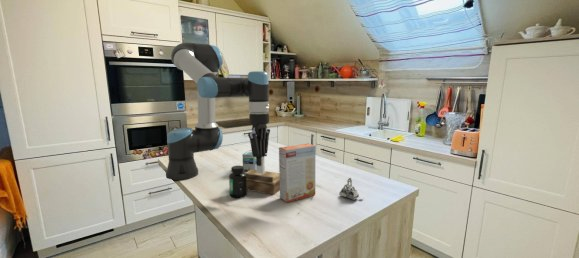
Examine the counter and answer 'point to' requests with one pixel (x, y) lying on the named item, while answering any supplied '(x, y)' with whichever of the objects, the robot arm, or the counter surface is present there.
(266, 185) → the brown wooden drawer
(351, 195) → the grey lumpy piece
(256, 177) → the lid
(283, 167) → the cracker box
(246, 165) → the light bulb box
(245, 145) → the counter surface
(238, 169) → the supplement bottle
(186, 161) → the robot arm
